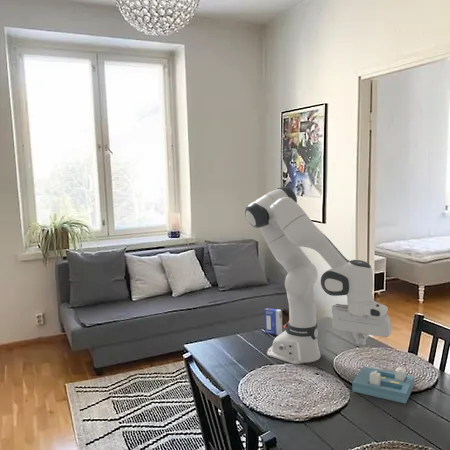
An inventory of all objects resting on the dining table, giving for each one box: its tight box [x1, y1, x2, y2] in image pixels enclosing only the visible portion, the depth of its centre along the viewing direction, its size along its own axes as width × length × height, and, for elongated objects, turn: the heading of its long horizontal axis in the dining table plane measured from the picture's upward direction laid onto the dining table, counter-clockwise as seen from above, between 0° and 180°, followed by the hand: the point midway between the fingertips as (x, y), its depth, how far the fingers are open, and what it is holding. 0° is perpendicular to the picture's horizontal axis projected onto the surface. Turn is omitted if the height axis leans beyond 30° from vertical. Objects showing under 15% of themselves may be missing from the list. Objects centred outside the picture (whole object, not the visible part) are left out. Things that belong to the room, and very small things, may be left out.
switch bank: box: [351, 366, 415, 404], centre depth 164 cm, size 18×14×4 cm
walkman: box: [263, 307, 283, 336], centre depth 220 cm, size 8×3×12 cm, turn 64°
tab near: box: [370, 371, 381, 386], centre depth 162 cm, size 3×3×5 cm
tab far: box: [394, 366, 407, 382], centre depth 164 cm, size 3×3×5 cm
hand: (361, 344), depth 163 cm, fingers closed
